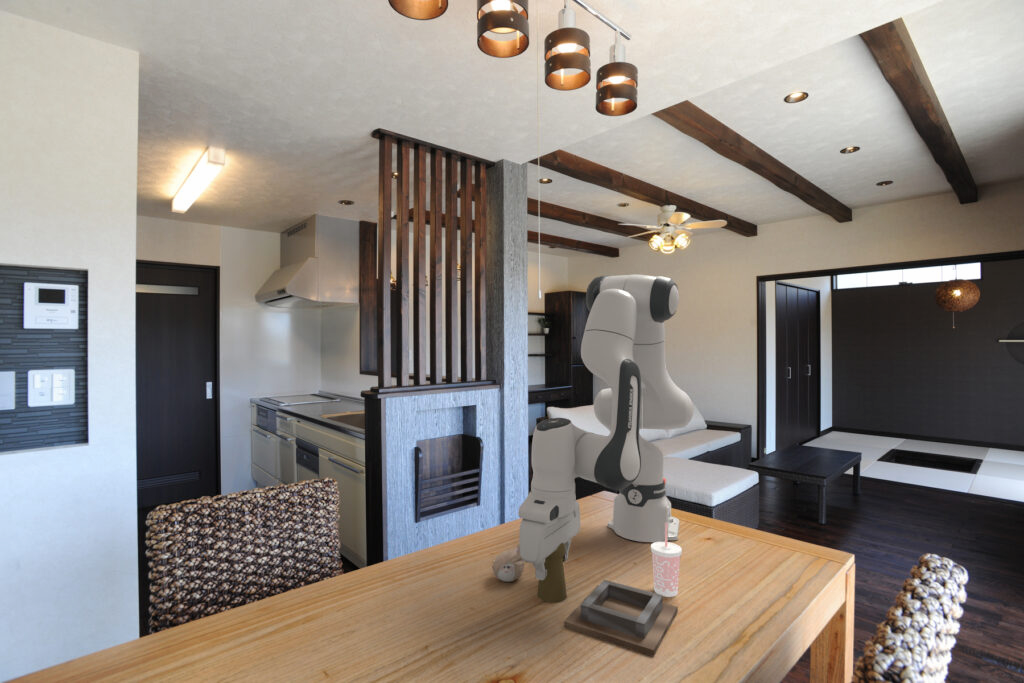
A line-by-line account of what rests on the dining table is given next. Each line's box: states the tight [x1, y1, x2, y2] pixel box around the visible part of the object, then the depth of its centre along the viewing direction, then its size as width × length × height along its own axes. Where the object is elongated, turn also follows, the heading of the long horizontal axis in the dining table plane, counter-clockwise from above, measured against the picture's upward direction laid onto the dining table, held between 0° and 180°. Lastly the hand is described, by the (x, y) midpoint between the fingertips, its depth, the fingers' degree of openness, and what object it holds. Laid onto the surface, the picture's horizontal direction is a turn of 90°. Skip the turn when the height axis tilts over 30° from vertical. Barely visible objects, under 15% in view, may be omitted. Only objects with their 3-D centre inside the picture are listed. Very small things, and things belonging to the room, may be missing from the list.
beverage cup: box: [650, 522, 683, 598], centre depth 103 cm, size 6×6×14 cm
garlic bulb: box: [492, 544, 525, 583], centre depth 107 cm, size 7×6×8 cm
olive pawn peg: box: [536, 543, 568, 604], centre depth 101 cm, size 6×6×11 cm
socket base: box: [563, 579, 679, 657], centre depth 92 cm, size 16×16×4 cm
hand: (552, 569), depth 101 cm, fingers open, 8 cm apart
